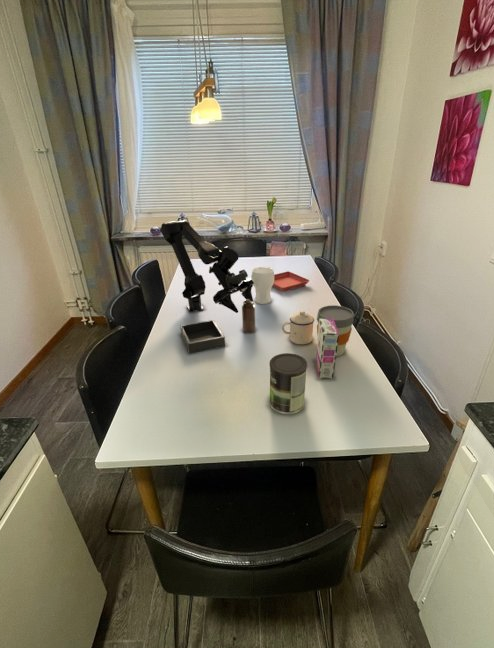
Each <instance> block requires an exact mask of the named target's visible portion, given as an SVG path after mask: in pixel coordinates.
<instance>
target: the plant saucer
mask: <svg viewBox="0 0 494 648" xmlns="http://www.w3.org/2000/svg"><path fill="white" fill-rule="evenodd" d="M308 283H310V279H308V278H305V277H303V276H301V275H299V274H296V273H294V272H292V271H287V270H286V271H284V272H279V273H274V283H273V286H272V287H273V288H275V289H277V290H279V291H281V292H287V291H290V290H294V289H297V288H301V287H304V286H306V285H307V284H308Z"/></svg>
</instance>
